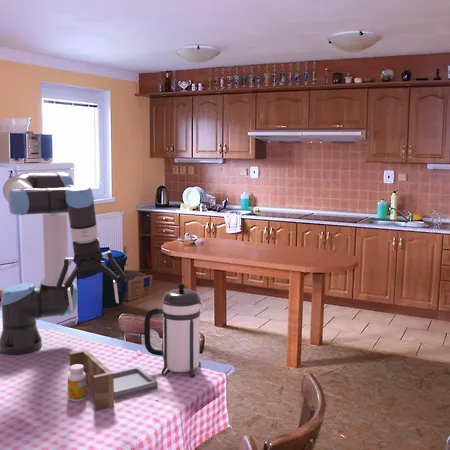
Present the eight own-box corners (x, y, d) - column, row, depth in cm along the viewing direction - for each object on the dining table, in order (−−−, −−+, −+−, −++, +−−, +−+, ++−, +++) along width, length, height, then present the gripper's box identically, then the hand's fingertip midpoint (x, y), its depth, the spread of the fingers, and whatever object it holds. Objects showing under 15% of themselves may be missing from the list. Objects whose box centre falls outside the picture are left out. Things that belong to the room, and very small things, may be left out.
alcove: (70, 383, 177) (69, 352, 175) (87, 379, 180) (86, 349, 178) (95, 411, 158) (94, 377, 157) (114, 406, 161) (113, 373, 160)
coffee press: (188, 357, 199) (188, 275, 195) (211, 373, 185) (212, 285, 181) (143, 367, 190) (142, 281, 185) (164, 384, 176) (164, 292, 172)
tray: (97, 382, 177) (97, 375, 177) (138, 373, 185) (138, 366, 185) (114, 399, 166) (114, 392, 166) (157, 388, 173) (157, 381, 173)
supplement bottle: (64, 397, 167) (63, 366, 165) (80, 392, 170) (79, 361, 169) (74, 403, 163) (73, 371, 162) (90, 397, 167) (89, 366, 165)
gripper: (40, 249, 156) (52, 317, 163) (129, 237, 163) (137, 303, 169) (41, 241, 163) (52, 307, 170) (126, 229, 169) (134, 293, 176)
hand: (94, 305), depth 169 cm, fingers open, 13 cm apart
